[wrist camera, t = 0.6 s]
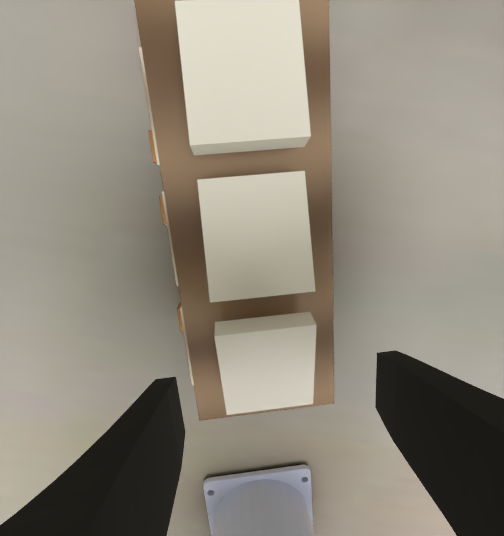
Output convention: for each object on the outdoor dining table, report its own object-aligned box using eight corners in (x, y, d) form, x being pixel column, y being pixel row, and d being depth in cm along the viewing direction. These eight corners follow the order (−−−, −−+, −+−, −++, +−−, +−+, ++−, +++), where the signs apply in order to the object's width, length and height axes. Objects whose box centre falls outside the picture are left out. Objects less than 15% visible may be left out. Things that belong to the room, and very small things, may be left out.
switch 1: (304, 146, 11) (310, 136, 10) (194, 155, 11) (189, 145, 10) (292, 18, 11) (298, -6, 10) (180, 23, 11) (174, 0, 10)
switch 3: (307, 388, 15) (313, 404, 14) (226, 398, 15) (226, 415, 14) (310, 311, 13) (316, 325, 12) (215, 321, 13) (214, 336, 12)
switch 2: (309, 288, 13) (315, 291, 12) (211, 299, 13) (209, 302, 12) (299, 177, 13) (304, 170, 12) (200, 185, 12) (197, 179, 11)
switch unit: (319, 373, 20) (342, 418, 16) (197, 387, 19) (188, 438, 15) (308, 16, 15) (339, -54, 11) (142, 25, 14) (107, -45, 10)
